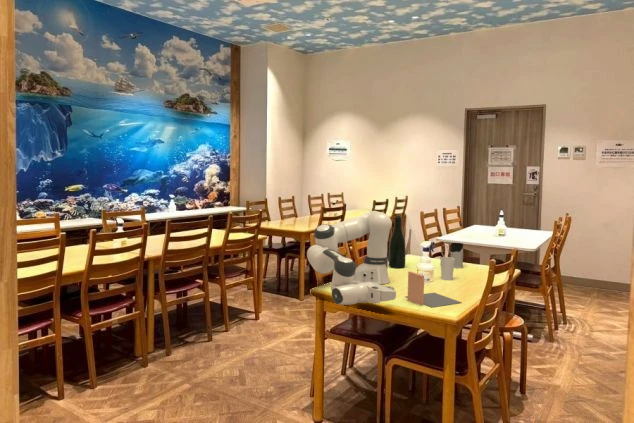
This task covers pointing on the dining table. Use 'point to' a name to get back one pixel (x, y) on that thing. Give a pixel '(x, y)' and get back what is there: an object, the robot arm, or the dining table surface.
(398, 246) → the dark green bottle
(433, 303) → the mat
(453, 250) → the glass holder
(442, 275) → the cup
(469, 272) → the dining table surface
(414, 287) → the tile
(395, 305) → the dining table surface
